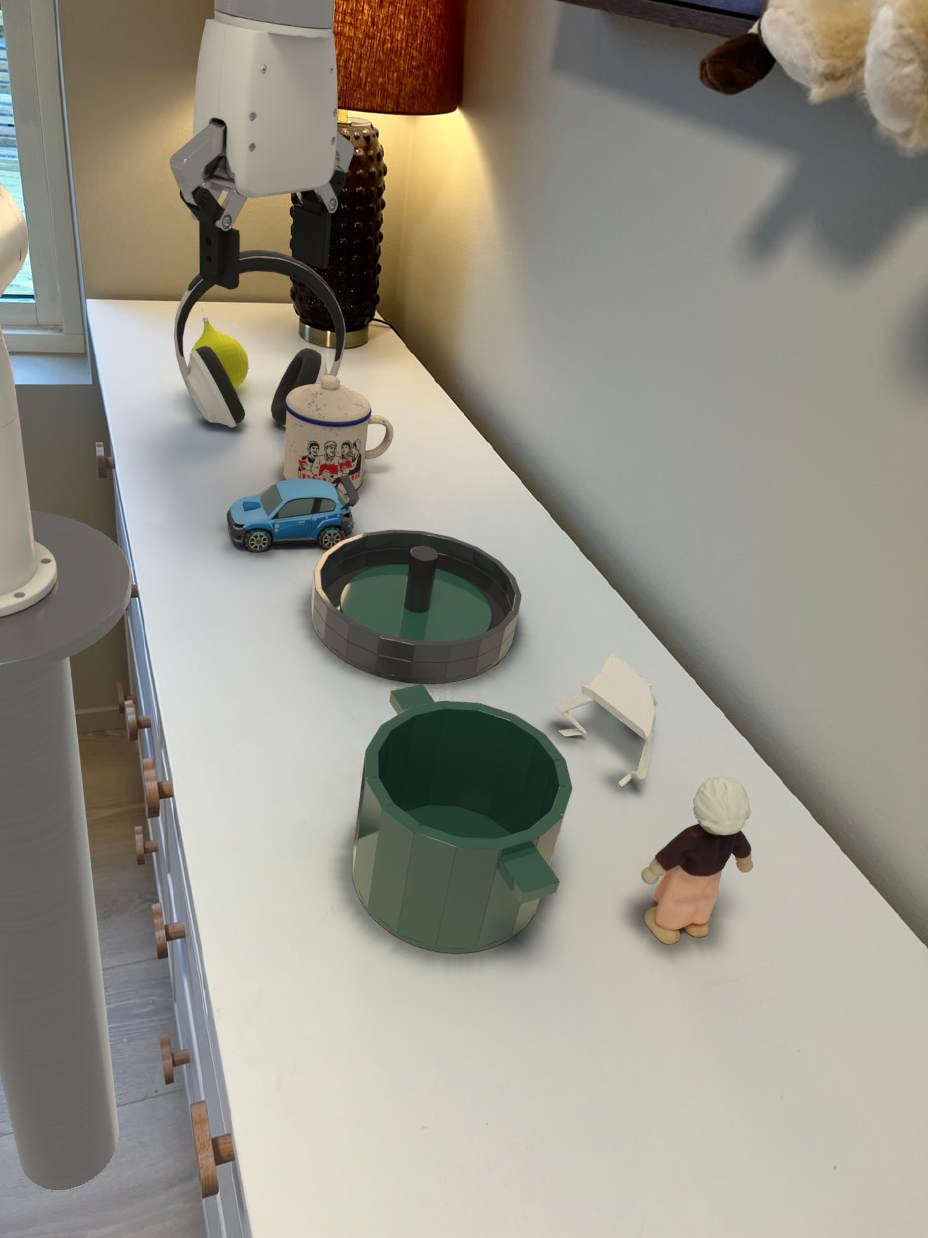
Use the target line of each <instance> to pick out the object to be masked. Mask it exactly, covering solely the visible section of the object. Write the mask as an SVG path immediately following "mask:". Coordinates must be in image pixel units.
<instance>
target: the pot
mask: <svg viewBox="0 0 928 1238" xmlns="http://www.w3.org/2000/svg"><path fill="white" fill-rule="evenodd" d="M388 700H389V703H390V705H391V707H392V708H393V710H394V712H395V713H396V715H394V716H393V717H391V718H390V719H388V720H386V721H385V722H383V723H382V724H381V725H379V727H378V729H377V730H376V732H375V734H374V735H373V737H372V738H371V740H370V742H369V743H368V745H367V746H366V748H365V750H364V758H363V766H362V773H361V774H362V775H361V782H360V783H361V784H360V791H359V800H358V806H357V807H358V808H357V815H356V824H355V833H354V841H353V848H352V880H353V883H354V887H355V888H354V889H355V890H356V893H357V895H358V899H359V901H360V902H361V904H362V905H363V907H364V908H365V910H366V911H367V912H368V914H369V915H370V916H371V918H372V919H374V921H376V923H378V924H379V925H380V926H381V927H382V928H384V929H385V930H386V931H387V932H389V933H390V934H392V935H393V936H395V937H396V938H398V939H400V940H402V941H403V942H405V943H408V944H411V945H412V946H415V947H418V948H421V949H424V950H429V951H434V952H437V953H446V954H469V953H475V952H481V951H484V950H488V949H492V948H494V947H497V946H500V945H502V944H504V943H505V942H507V941H508V940H511V939H512V938H514V937H515V936H516V935H517V934H519V933H520V932H521V931H523V929H524V928H525V927H526V926H527V925H528V923H530V921H531V919H532V918H533V916H534V915H535V914H536V912H537V909H538V907H539V903H540V899H541V898H545V897H547V896H550V895H554V894H556V893H557V891H558V888H559V886H560V882H561V881H560V880H559V878H558V877H557V875H556V873H555V872H554V871H553V869H552V868H551V864H552V860H553V858H554V854H555V851H556V847H557V844H558V840H559V837H560V834H561V829H562V827H563V823H564V820H565V816H566V814H567V809H568V807H569V803H570V799H571V796H572V792H573V784H572V780H571V775H570V771H569V768H568V764H567V760H566V758H565V757H564V755H563V754H562V753H561V751H560V750H558V748H557V747H556V746H555V744H554V743H553V741H552V740H551V739H550V738H549V737H548V735H547V734H546V733H545V732H543V731H542V730H540V729H539V728H537V727H536V726H534V725H532V724H531V723H529V722H528V721H526V720H525V719H523V718H521V717H520V716H518V715H517V714H515V713H512V712H509V711H506V710H503V709H500V708H497V707H493V706H491V705H487V704H485V703H481V702H471V701H454V700H438V701H435V700H434V698H433V697H432V696H431V694H430V693H429V691H428V690H427V688H426V687H425V686H424V683H419V684H415V685H412V686H406V687H402V688H397V689H391V690H390V692H389V699H388Z"/></svg>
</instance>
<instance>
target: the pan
mask: <svg viewBox="0 0 928 1238" xmlns="http://www.w3.org/2000/svg"><path fill="white" fill-rule="evenodd" d="M417 546H427V547H430V548H433V549H434V550H436V551H437V553H438V559H437V566H436V569H439V570H442V571H445V572H448V573H451V574H453V575H456V576H458V577H460V578H462V579H464V580H465V581H467V582H468V583H470V584H472V585H473V586H474V587H475V588H477V589H478V590H479V591H480V592H481V593H482V594H483V596H484V597H485V598H486V600H487V601H488V603H489V605H490V608H491V613H492V619H491V625H490V628H489V630H488V631H487V632H485V633H482V634H480V635H478V636H475V637H470V638H465V639H459V640H454V641H449V642H448V641H413V640H409V639H404V638H399V637H394V636H390V635H385V634H381V633H379V632H377V631H374V630H372V629H370V628H367V627H365V626H363V625H360V624H358V623H356V622H354V621H352V620H351V619H350V618H349V617H347V616H346V615H345V614H343V613H342V612H341V610H340V598H341V593H342V591H343V589H344V587H345V586H346V584H347V583H348V582H349V581H350V580H351V579H353V578H354V577H355V576H357V575H359V574H361V573H363V572H365V571H367V570H370V569H374V568H377V567H382V566H388V565H409V559H410V551H411V549H412V548H414V547H417ZM311 589H312V590H311V602H310V603H311V621H312V626H313V628H314V631H315V633H316V635H317V636H318V638H319V639H320V641H321V642H322V643H323V645H324V646H325V647H327V648H328V650H330V652H332V653H333V654H334V655H335V656H337V657H338V658H339V659H341V660H342V661H344V662H346V663H347V664H349V665H350V666H353V667H355V668H357V669H359V670H361V671H363V672H366V673H368V674H371V675H373V676H376V677H381V678H384V679H387V680H392V681H397V682H403V683H411V684H412V683H413V684H444V683H445V684H446V683H452V682H453V683H454V682H459V681H462V680H467V679H470V678H473V677H475V676H478V675H481V674H483V673H485V672H486V671H489V670H491V669H492V668H493V667H495V666H496V665H497V664H498V663H500V662H501V661H502V660H503V658H505V657H506V655H507V653H508V652H509V650H510V648H511V646H512V645H513V640H514V636H515V631H516V626H517V623H518V617H519V612H520V608H521V602H522V596H523V595H522V592H521V589H520V587H519V585H518V582H517V579H516V577H515V575H513V573H512V572H511V571H510V570H509V569H508V568H507V566H506V565H504V564H503V563H502V561H501V560H499V559H497V558H495V557H494V556H492V555H491V554H489V553H488V552H486V551H485V550H483V549H482V548H480V547H478V546H476V545H473V544H470V543H468V542H465V541H463V540H460V539H457V538H455V537H453V536H449V535H444V534H440V533H439V534H438V533H435V532H429V531H425V530H414V529H413V530H412V529H411V530H410V529H385V530H376V531H368V532H362V533H360V534H357V535H353V536H352V537H349V538H344V539H343V541H340V542H339V543H337V544H336V545H334V546H333V547H332V548H330V549H327V550H326V551H325V552H323V553H322V554H321V556H320V558H319V560H318V561H317V564H316V565H315V567H314V569H313V575H312V588H311Z"/></svg>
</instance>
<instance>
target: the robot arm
mask: <svg viewBox="0 0 928 1238" xmlns="http://www.w3.org/2000/svg"><path fill="white" fill-rule="evenodd" d="M335 2H336V0H214V18H206V19H205V23H204V28H203V32H202V36H201V43H200V47H199V53H198V60H197V61H198V62H197V68H196V75H195V76H196V78H195V88H194V101H193V102H194V103H193V118H192V119H193V120H192V121H193V122H192V123H193V124H192V125H193V126H192V138H191V139H189V141H187V142H186V143H185V144H184V145H183V146H181V148H179V149H178V150H177V151H175V152H174V153H172V155H171V156H170V159H169V167H170V169H171V172H172V174H173V178H174V180H175V182H176V185H177V187H178V188H179V197H180V199H181V201H182V202H183V203H184V205H186V207H187V208H188V209H189V211H190V216H191V218H192V220H193V221H195V222H198V237H199V240H198V241H199V242H198V244H199V245H198V247H199V249H198V250H199V252H198V253H199V256H198V257H199V262H198V263H199V264H198V265H199V273H200V277H201V278H202V279H203V280H205V281H208V282H211V283H213V284H215V285H216V286H218V287H221V288H223V289H227V290H229V291H231V290H236V289H238V287H239V285H240V274H239V263H240V252H241V234H240V230H239V229H237V228H234V227H233V226H234V224H235V222H236V221H237V219H238V217H239V215H240V213H241V211H242V209H243V207H244V206H245V203H246V202H247V200H248V198H250V199H255V198H256V199H257V198H266V197H274V196H280V195H289V194H296V196H297V197H298V199H299V202H300V203H301V204H300V203H296V204H293V213H292V234H291V235H292V236H291V257H293V258H294V259H295V260H297V261H300V262H303V263H304V264H306V265H308V266H312V267H315V268H317V269H325V268H327V267H328V266H329V258H330V257H329V256H330V245H331V244H330V242H331V241H330V240H331V229H332V214H334V213H335V212H336V211H337V209H338V207H339V206H338V205H339V201H338V196H339V195H340V193H341V191H342V190H343V188H344V186H345V185H346V182H347V175H346V173H347V172H348V170H349V167H350V164H351V162H352V159H353V156H354V153H355V147H354V144H353V143H352V142H350V140H348V139H347V138H346V137H345V136H344V135H343V134H341V133H340V131H338V68H337V51H336V42H335V41H336V40H335V34H334V33H333V32H334V16H335ZM222 194H226V196H225V198H224V200H223V201H222V204H220V203H219V199H220V197H221V196H222ZM28 250H29V231H28V226H27V221H26V219H25V217H24V214H23V212H22V209H21V208H20V206H19V204H18V203H17V202H16V200H15V198H14V197H13V196H12V194H11V193H10V192H9V190H8V189H7V188H6V187H5V185H3V184H2V183H1V182H0V298H1V297H2V296H3V295H4V293H5V291H6V290H7V289H8V288H9V286H10V285H11V283H12V282H14V280H15V279H16V277H17V275H18V274H19V273H20V271H21V269H22V268H23V266H24V264H25V262H26V259H27V256H28ZM14 376H15V375H14V370H13V366H12V361H11V357H10V354H9V349H8V346H7V343H6V339H5V336H4V333H3V330H2V325H1V324H0V617H2V616H6V615H10V614H13V613H15V612H18V611H21V610H24V609H26V608H27V607H29V606H31V605H33V604H35V603H37V602H38V601H39V600H41V599H42V598H44V597H45V596H46V595H47V594H48V593H49V592H50V591H51V590H52V588H53V586H54V584H55V583H56V580H57V566H56V561H55V558H54V556H53V555H52V553H51V552H50V551H49V550H48V549H47V548H45V547H44V546H43V545H41V544H40V543H37V542H35V541H34V535H33V527H32V519H31V510H32V509H31V503H30V494H29V486H28V479H27V472H26V471H27V470H26V463H25V462H26V461H25V454H24V453H25V452H24V446H23V437H22V436H23V435H22V428H21V421H20V411H19V405H18V398H17V390H16V382H15V377H14Z"/></svg>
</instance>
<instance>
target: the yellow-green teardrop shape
mask: <svg viewBox="0 0 928 1238" xmlns="http://www.w3.org/2000/svg"><path fill="white" fill-rule="evenodd" d="M201 311H204V309H203V308H202V306H201ZM202 321H203V331H202V334H201V336H199V338H198V339H197V341H196V342H195V343H194V345H193V347H192V349H191V351H190V353H191V352H192V351H193V350H195V349H197V348H199V347H202V346H208V347H211V349H212V350H213V351H214V352H215V353H216V355H217V357H218V358H219V360H220V362H221V364H222V365H223V367H224V369H225V371H226V372H227V374H228V376H229V378H230V380H231V383H232V385H233V387H234V389H235V390H236V389H237V388H239V387H240V386H241V385H242V384H243V383H244V382H245V380H246V379H247V376H248V371H249V358H248V357H249V356H248V355H247V351H246V350H245V348H244V346H243V345H242V344H241V343H240V342H239V341H238V340H236V339H235V338H234V337H232V336H230V335H228V334H226V333H223V332H222V331H221V332H220V331H218V330H217V329H215V328H214V327H213V325H211V323H210V320H209V318H208V317H205V316H204V317H202Z"/></svg>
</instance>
